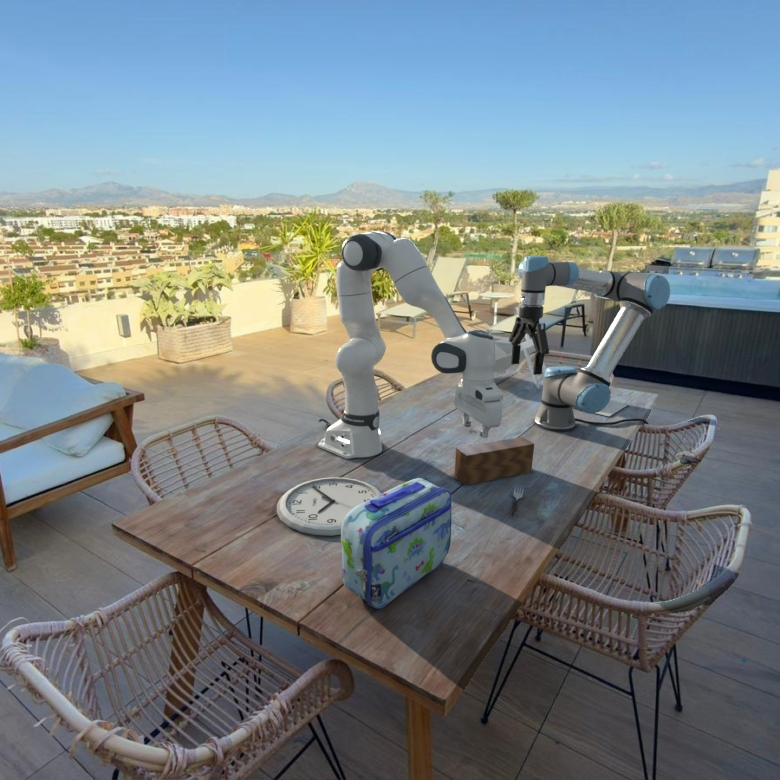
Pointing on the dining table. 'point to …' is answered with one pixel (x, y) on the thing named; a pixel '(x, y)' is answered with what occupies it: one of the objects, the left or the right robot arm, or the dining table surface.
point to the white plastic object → (505, 355)
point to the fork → (517, 496)
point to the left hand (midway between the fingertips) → (475, 431)
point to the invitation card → (611, 408)
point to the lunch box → (395, 540)
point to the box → (493, 460)
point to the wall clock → (323, 504)
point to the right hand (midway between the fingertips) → (525, 368)
